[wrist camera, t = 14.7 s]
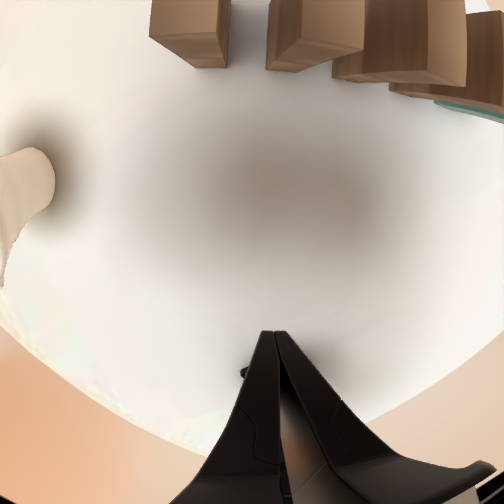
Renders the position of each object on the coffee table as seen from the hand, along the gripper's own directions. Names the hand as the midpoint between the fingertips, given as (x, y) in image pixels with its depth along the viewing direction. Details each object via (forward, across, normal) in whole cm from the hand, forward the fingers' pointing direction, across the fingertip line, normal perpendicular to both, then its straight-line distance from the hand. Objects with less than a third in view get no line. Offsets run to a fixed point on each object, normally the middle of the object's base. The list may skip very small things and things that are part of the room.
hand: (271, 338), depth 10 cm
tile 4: (+13, -10, -12) cm, 21 cm away
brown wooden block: (+13, -6, -12) cm, 19 cm away
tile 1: (+13, +4, -12) cm, 18 cm away
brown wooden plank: (+13, -1, -12) cm, 18 cm away
